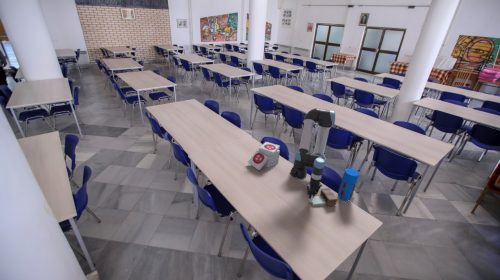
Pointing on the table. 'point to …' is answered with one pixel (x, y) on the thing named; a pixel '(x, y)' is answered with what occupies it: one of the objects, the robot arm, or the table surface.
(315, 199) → the board
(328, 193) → the tan notched block
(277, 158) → the pizza boxes
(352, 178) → the thermos
